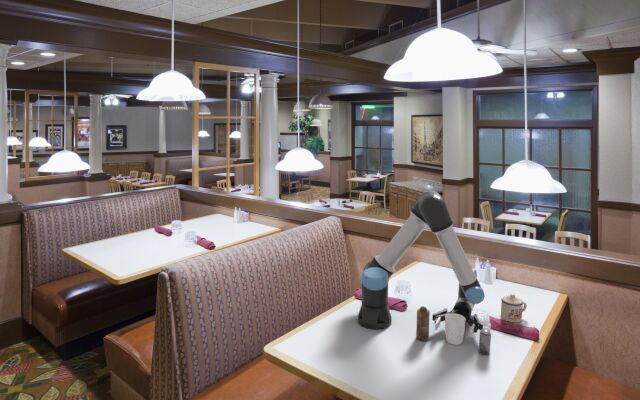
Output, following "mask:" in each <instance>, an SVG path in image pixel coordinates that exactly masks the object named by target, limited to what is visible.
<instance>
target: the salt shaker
mask: <svg viewBox="0 0 640 400" xmlns="http://www.w3.org/2000/svg"><path fill="white" fill-rule="evenodd" d="M491 339H492V333H491V330H490V329H488V328H483V329H481V330H480V331H479V341H478V342H479V343H478V353H479V354H480V355H483V356H489V355H490V354H491V353H490V352H491V341H492V340H491Z"/></svg>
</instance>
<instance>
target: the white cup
mask: <svg viewBox="0 0 640 400" xmlns="http://www.w3.org/2000/svg"><path fill="white" fill-rule="evenodd" d="M465 321H466V319H465V317H464V316H462V315H459V314H447V315H446V316H445V321H444V323H445V325H444V331H445V333H444V334H445V341H446V343H449V344H452V345H456V346H457V345H461V344H463V342H464V336H465V328H466V323H465Z"/></svg>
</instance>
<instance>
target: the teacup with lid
mask: <svg viewBox="0 0 640 400" xmlns="http://www.w3.org/2000/svg"><path fill="white" fill-rule="evenodd" d="M500 307H501V308H500V318H501V319H502V320H503V321H505V320H506V321H505V322H507V321H510V322H509V323H512V322H514V324H517V323H520V322H522V318H523V313H524V312H525V311H526V310H527V307H528V306H527V303H525V301H524V300H523V299H522V298H520V297H518V296H516V294H515V293H510V294H509V295H504V296H502V297H501V305H500Z"/></svg>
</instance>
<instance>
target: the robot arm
mask: <svg viewBox="0 0 640 400" xmlns="http://www.w3.org/2000/svg"><path fill="white" fill-rule="evenodd" d="M409 213H410V216H409V217H408V218H407V220H406V221H405V222H404V224H403V225H402V226H401V227H400V229H399V230H398V231H397V232H396V233H395V235H394V236H393V237H392V238H391V240H390V241H389V243H387V245H386V246H385V248H384V249H383V250H382V252H381V253H380V254H378V255H374V257H373V258H372V259H371V260H370V261H368V262H367V263H366V264H365V266H364V267H363V270H362V273H361V277H360V278H361V279H360V280H361V281H360V282H361V305H360V308H359V311H358V314H357V324H359V325H360V326H361V327H363V328H365V329H370V330H381V329H382V330H383V329H387V328H388V327H390V326H391V325H392V319H393V317H392V314H391V311H390V308H389V305H388V304H389V303H388V302H389V282H390V281H389V280H390V278H391V277H392V275H394V273H395V271H396V269H395V268H396V267H395V266H396V265H397V264H398V262H400V260H401V259H402V258H403V256H404V255H405V254H406V253H407V252H408V250H409V249H410V248H411V246H412V245H413V244H414V243H415V242H416V240H417V239H418V238H419V236H420V235H421V234H422V233H423V231H424V230H425V229H426V228H427V227H429V229H430V231H431V233H432V234H435V236H436V238H437V240H438V242H439V244H440V246H441V249H442V251H443V252H444V255H445V257H446V258H447V261H448V262H449V265H450V267H451V269H452V271H453V273H454V275H455V278H456V279H457V281H458V292H457V293H458V294H457V295H458V296H457V300H456V302H455V304H454V306H453V308H452V309H451V310H449V309H448V308H447V307H446V308H443V309H442V310H440V311H437V312H435V313H433V314H432V320H431V321H433V322H434V325H435V327H434V330H435V331H437V330H438V329H439V327H440V325H441V323H442V322H445V316H446V315H447V314H459V315H462V316H464V317H465V319H466V321H465V324H468V325H469V326H470V327H471V328H470V331H469V332H470V333H469V337H470V338H473V336H474V333H476V334H477V333H478V330H479V331H481V329H484V324H483V322H482V321H481V319H480V318H479V317H478V314H477V313H475V314H472V311H473V309H474V307H475V306H476V305H478V304H481V303H482V302H483V301H484V300H485V298H486V297H485V295H486V294H485V292H484V289H483V288H482V286H481V284H480V281H479V280H478V273H477V271H478V270H477V269H476V268H473V267H472V265H471V262H470V261H469V259H468V257H467V254H466V252H465V251H464V248H463V246H462V244H461V242H460V240H459V238H458V236H457V234H456V232H455V229H454V227H453V226H454V221H453V219H452V217H451V215H450V211H449V207H448V204H447V202H446V200H445V199H444V197H443V196H442V195H441V194H440V193H439V192H437V191H434V190H426V191H423V192H422V193H420V195H418V196H417V199H416V202H415V204H414V205H413V206H412V207H411V208H410V211H409Z"/></svg>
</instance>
